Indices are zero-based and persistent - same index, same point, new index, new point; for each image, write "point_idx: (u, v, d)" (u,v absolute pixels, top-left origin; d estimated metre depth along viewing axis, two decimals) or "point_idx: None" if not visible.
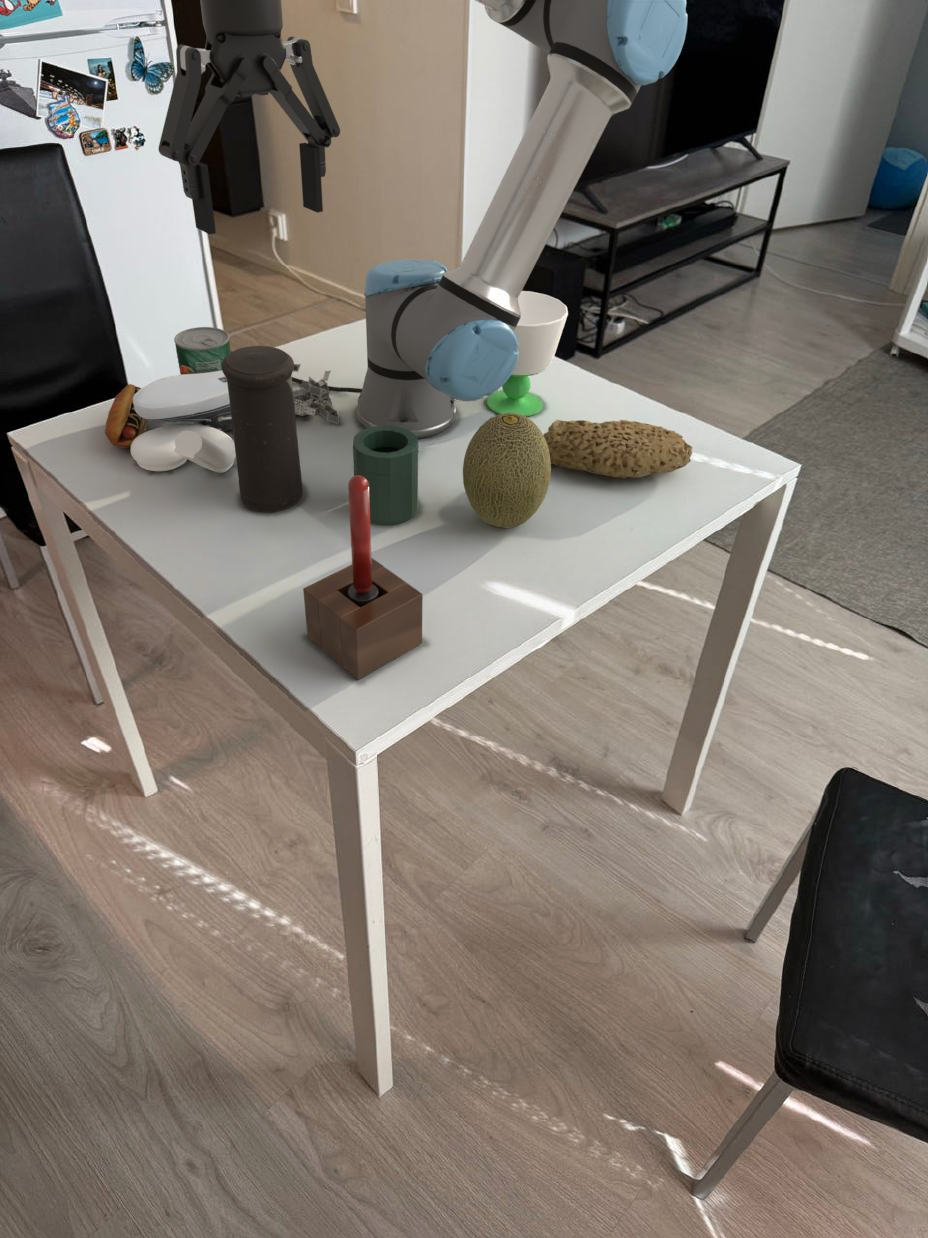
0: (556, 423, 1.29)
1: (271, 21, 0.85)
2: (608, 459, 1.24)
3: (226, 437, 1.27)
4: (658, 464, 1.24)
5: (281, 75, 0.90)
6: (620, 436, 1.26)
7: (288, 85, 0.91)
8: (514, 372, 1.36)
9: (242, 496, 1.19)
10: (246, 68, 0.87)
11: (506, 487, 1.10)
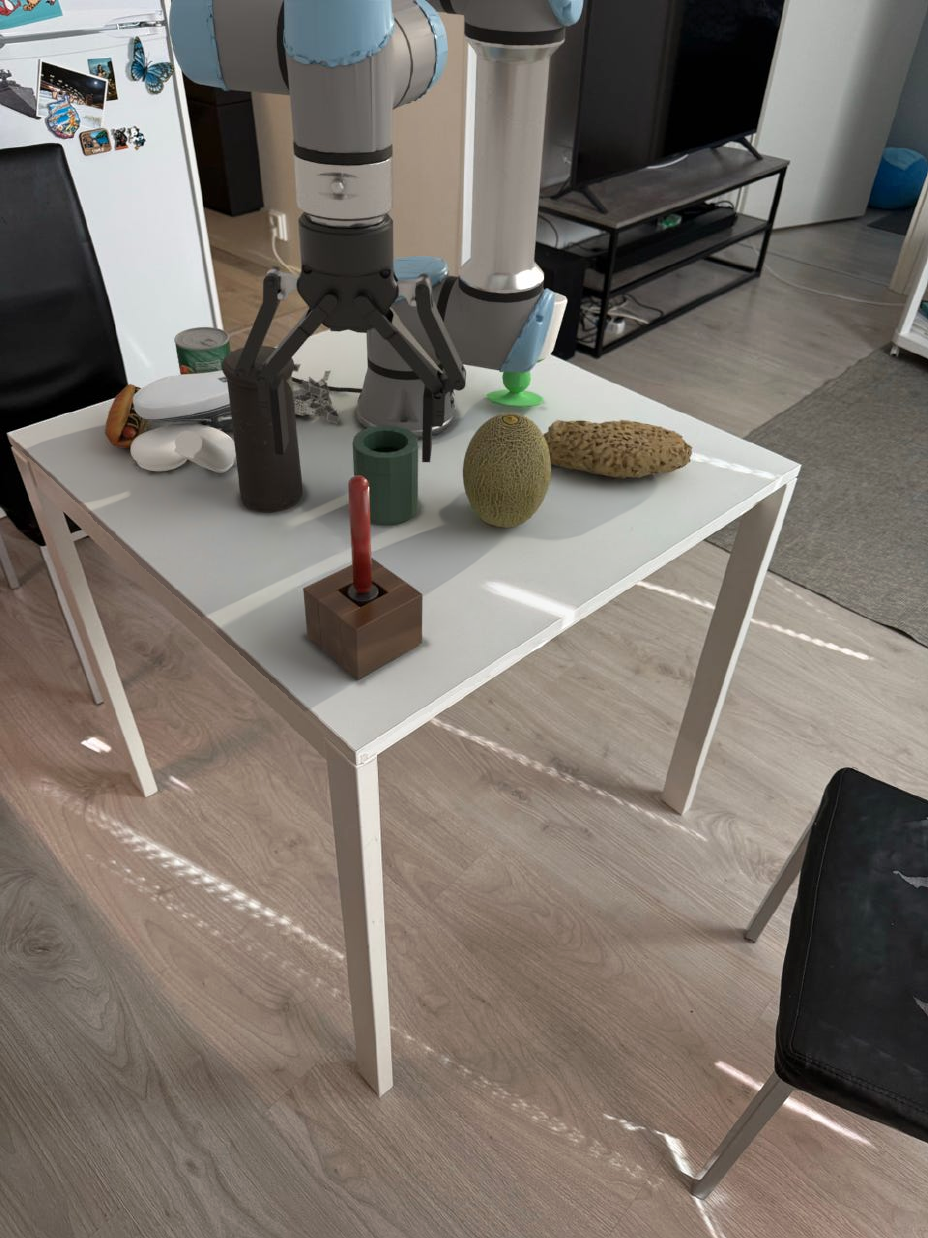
0: (556, 423, 1.29)
1: (352, 264, 0.70)
2: (608, 459, 1.24)
3: (226, 437, 1.27)
4: (658, 464, 1.24)
5: (379, 316, 0.75)
6: (620, 436, 1.26)
7: (389, 328, 0.76)
8: None
9: (242, 496, 1.19)
10: (330, 304, 0.74)
11: (506, 487, 1.10)
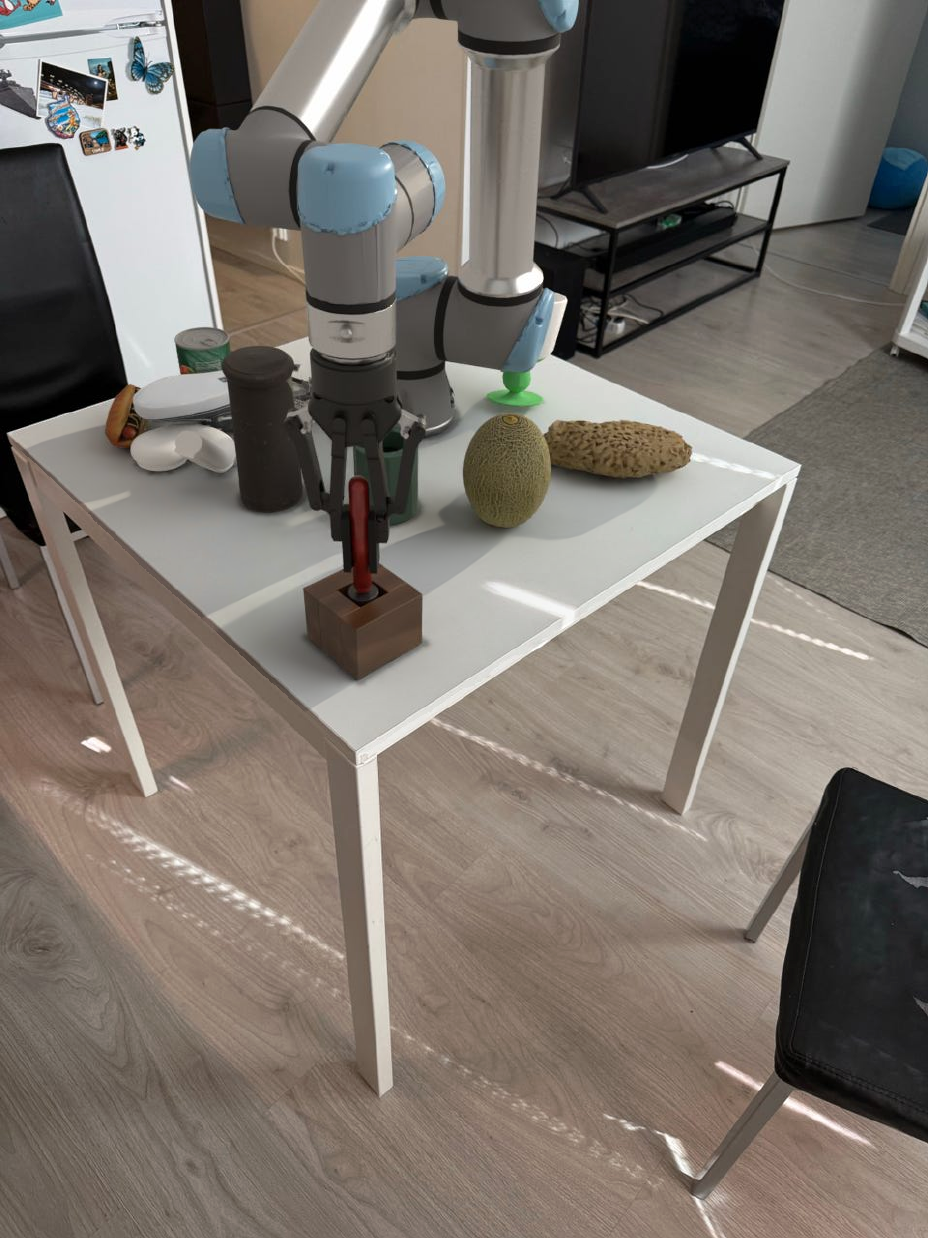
0: (556, 423, 1.29)
1: (359, 396, 0.77)
2: (608, 459, 1.24)
3: (226, 437, 1.27)
4: (658, 464, 1.24)
5: (374, 442, 0.82)
6: (620, 436, 1.26)
7: (376, 454, 0.83)
8: None
9: (242, 496, 1.19)
10: (340, 426, 0.81)
11: (506, 487, 1.10)
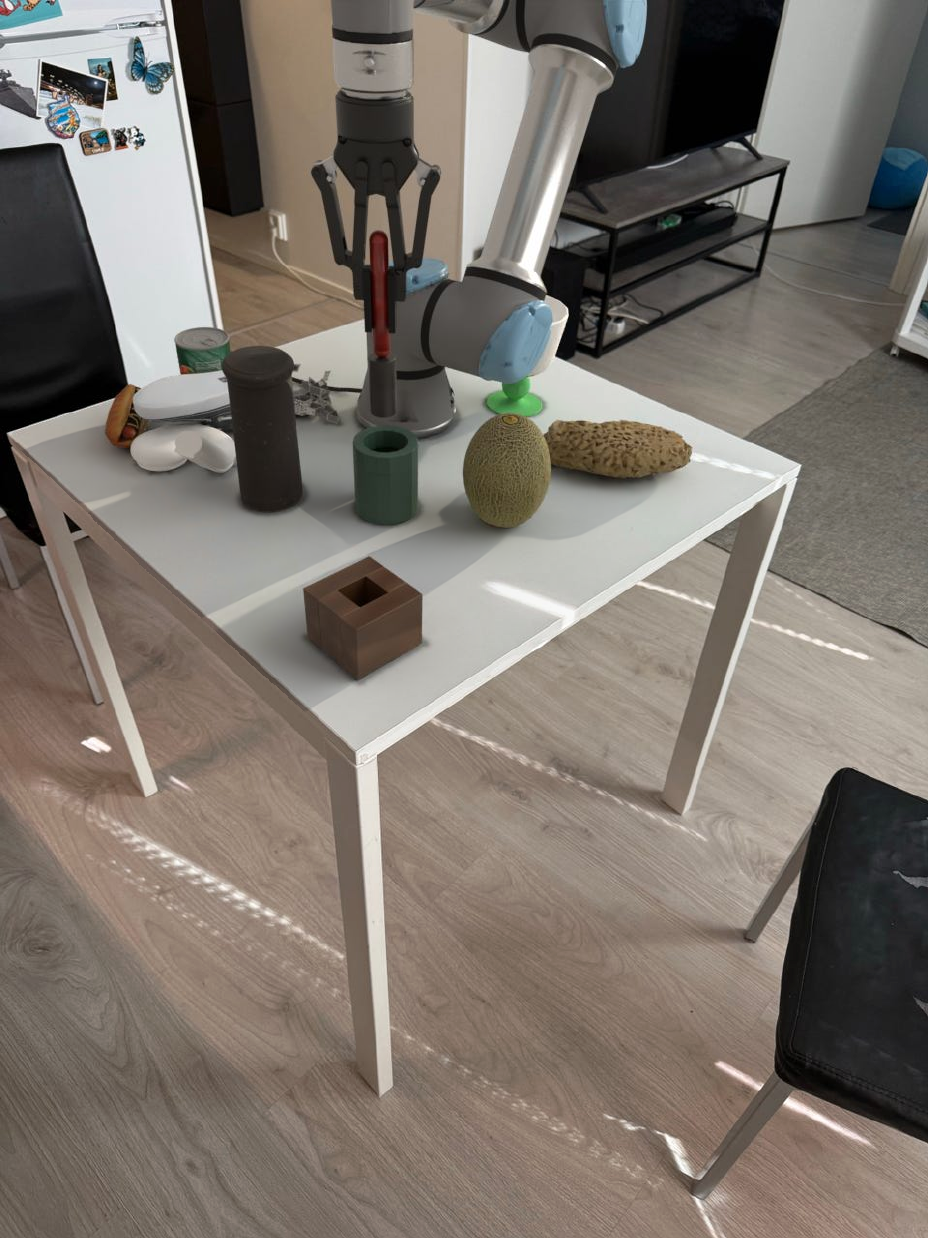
0: (556, 423, 1.29)
1: (380, 131, 0.86)
2: (608, 459, 1.24)
3: (226, 437, 1.27)
4: (658, 464, 1.24)
5: (393, 187, 0.91)
6: (620, 436, 1.26)
7: (395, 200, 0.91)
8: None
9: (242, 496, 1.19)
10: (363, 169, 0.89)
11: (506, 487, 1.10)
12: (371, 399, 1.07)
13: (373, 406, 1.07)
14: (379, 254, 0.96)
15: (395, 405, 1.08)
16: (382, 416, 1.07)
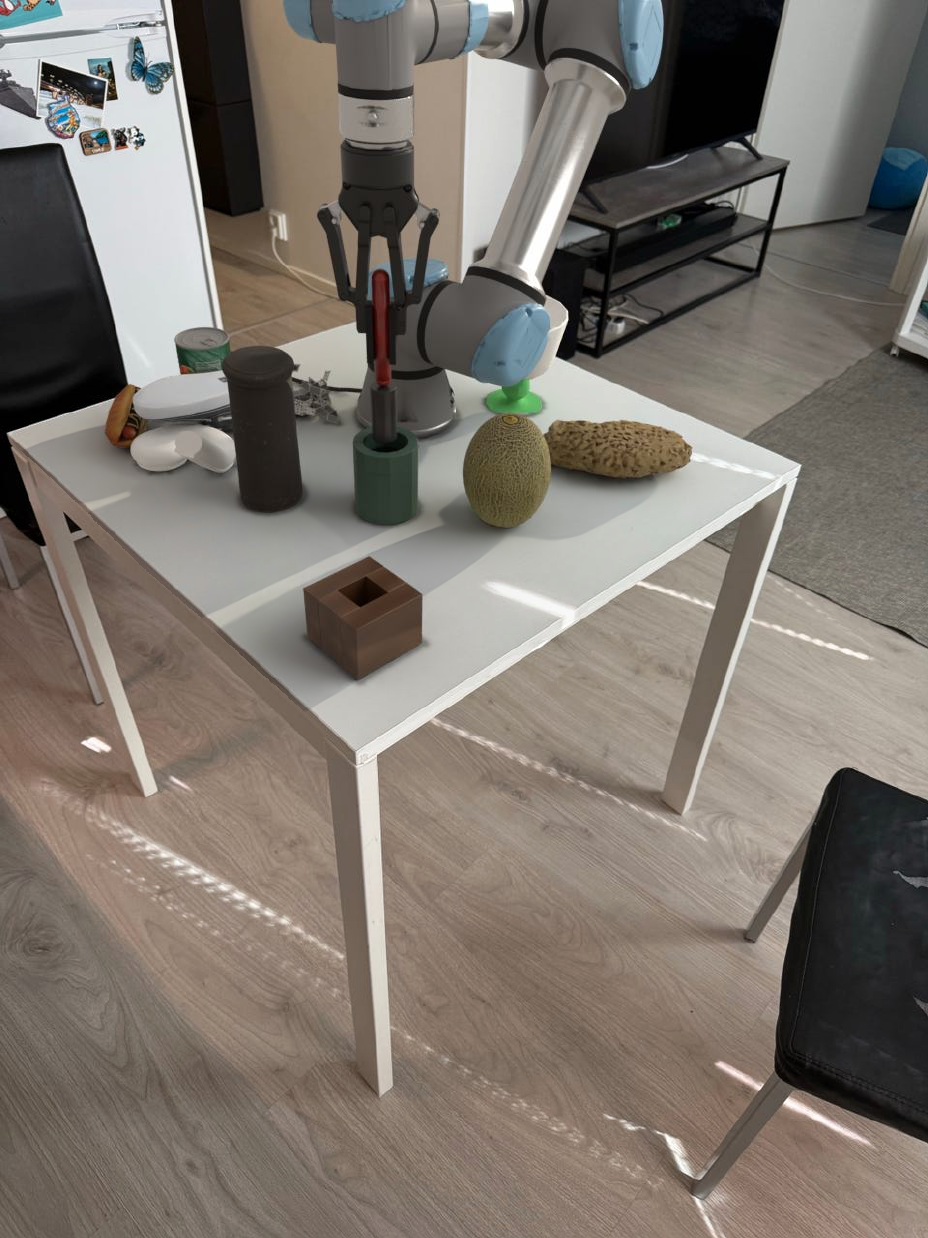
0: (556, 423, 1.29)
1: (382, 179, 0.91)
2: (608, 459, 1.24)
3: (226, 437, 1.27)
4: (658, 464, 1.24)
5: (394, 229, 0.96)
6: (620, 436, 1.26)
7: (396, 242, 0.97)
8: None
9: (242, 496, 1.19)
10: (366, 213, 0.95)
11: (506, 487, 1.10)
12: (372, 426, 1.12)
13: (374, 433, 1.12)
14: (381, 291, 1.01)
15: (395, 431, 1.13)
16: (383, 442, 1.13)
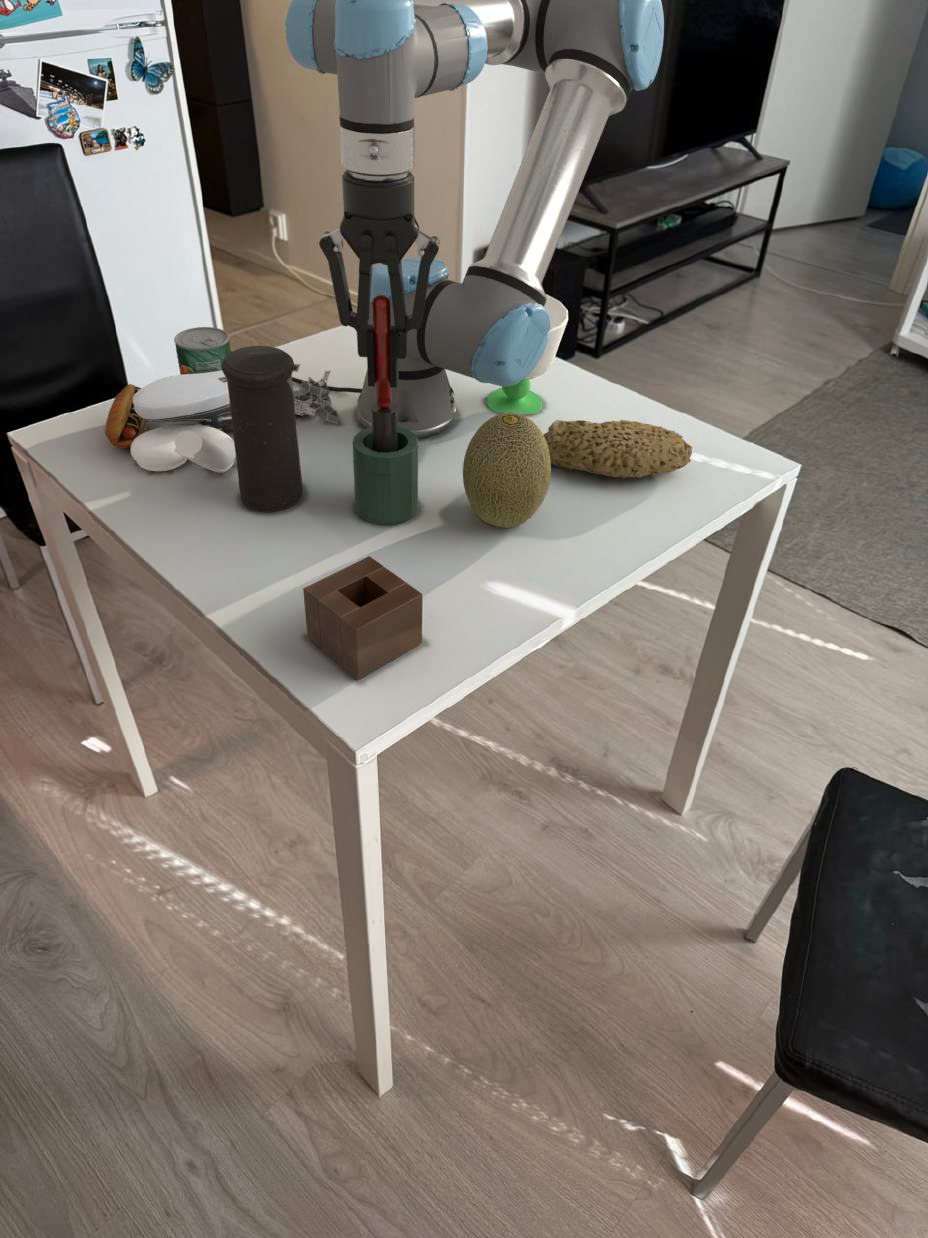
0: (556, 423, 1.29)
1: (383, 210, 0.93)
2: (608, 459, 1.24)
3: (226, 437, 1.27)
4: (658, 464, 1.24)
5: (395, 257, 0.98)
6: (620, 436, 1.26)
7: (396, 269, 0.99)
8: None
9: (242, 496, 1.19)
10: (367, 242, 0.97)
11: (506, 487, 1.10)
12: (373, 446, 1.14)
13: None
14: (382, 316, 1.03)
15: None
16: None
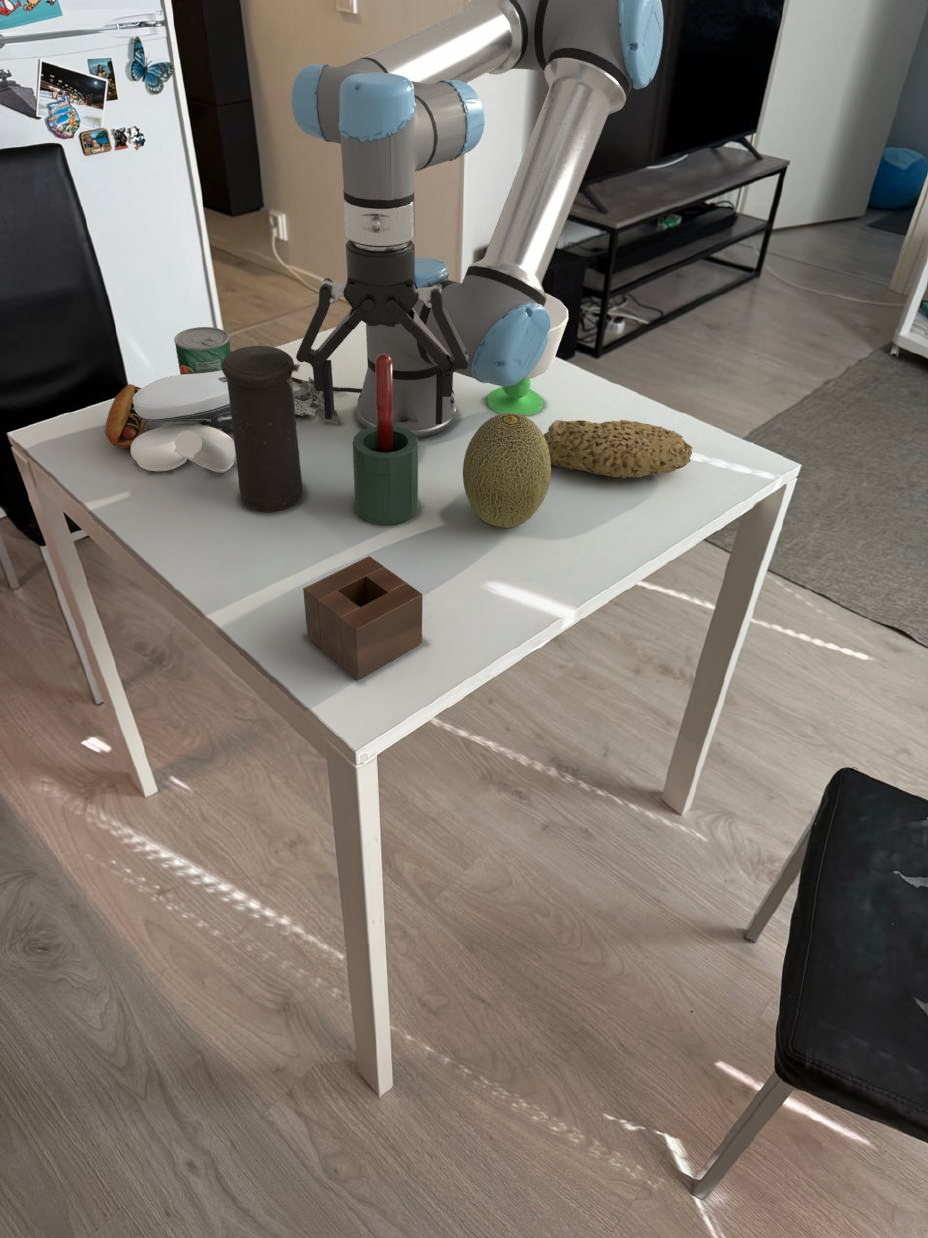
0: (556, 423, 1.29)
1: (385, 278, 0.97)
2: (608, 459, 1.24)
3: (226, 437, 1.27)
4: (658, 464, 1.24)
5: (404, 315, 1.02)
6: (620, 436, 1.26)
7: (411, 323, 1.03)
8: None
9: (242, 496, 1.19)
10: (368, 306, 1.01)
11: (506, 487, 1.10)
12: None
13: None
14: (384, 374, 1.08)
15: None
16: None
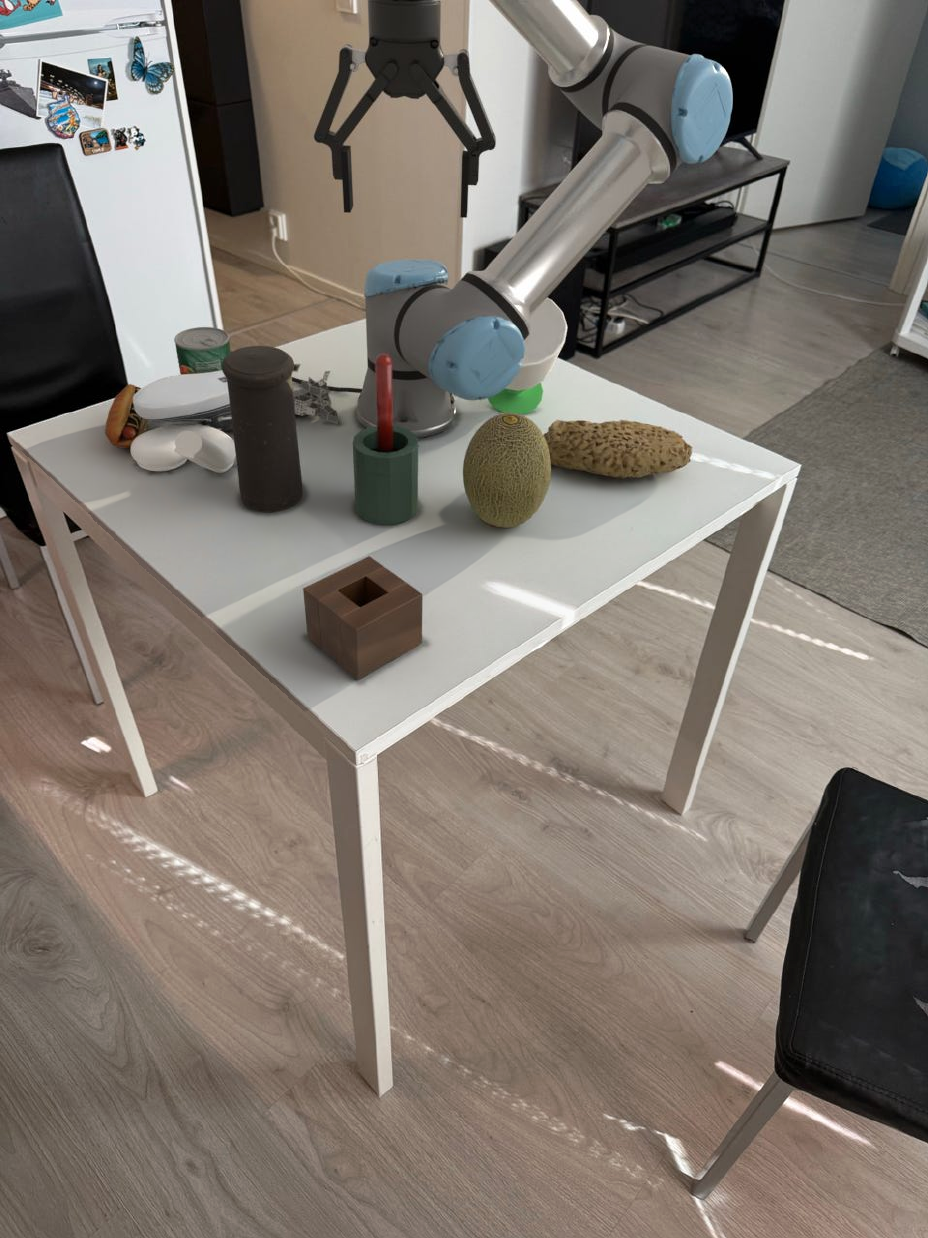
0: (556, 423, 1.29)
1: (410, 31, 0.92)
2: (608, 459, 1.24)
3: (226, 437, 1.27)
4: (658, 464, 1.24)
5: (429, 82, 0.96)
6: (620, 436, 1.26)
7: (437, 92, 0.97)
8: (507, 388, 1.36)
9: (242, 496, 1.19)
10: (391, 71, 0.96)
11: (506, 487, 1.10)
12: None
13: None
14: (384, 374, 1.08)
15: None
16: None
